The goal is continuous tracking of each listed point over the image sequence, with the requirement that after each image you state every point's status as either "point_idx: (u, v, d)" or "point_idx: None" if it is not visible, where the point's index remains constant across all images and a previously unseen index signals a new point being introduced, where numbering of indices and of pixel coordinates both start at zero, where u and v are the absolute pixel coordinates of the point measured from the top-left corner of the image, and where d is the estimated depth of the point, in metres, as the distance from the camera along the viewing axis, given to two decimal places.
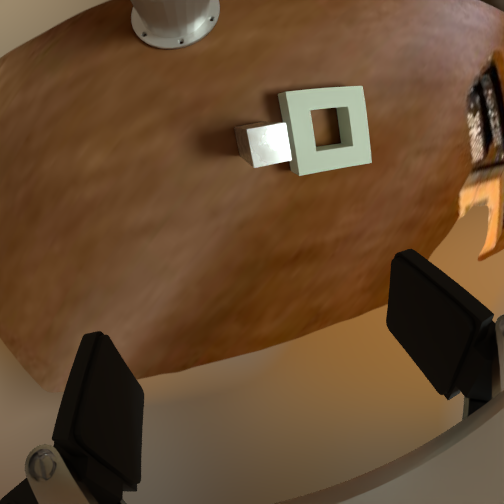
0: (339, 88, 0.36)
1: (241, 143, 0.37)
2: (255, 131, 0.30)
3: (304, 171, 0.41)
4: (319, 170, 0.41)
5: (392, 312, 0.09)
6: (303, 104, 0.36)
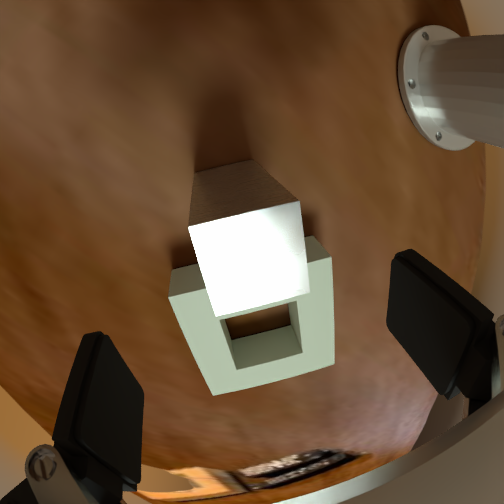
0: (331, 336, 0.25)
1: (230, 178, 0.17)
2: (291, 224, 0.12)
3: (178, 304, 0.21)
4: (184, 328, 0.22)
5: (392, 312, 0.09)
6: None
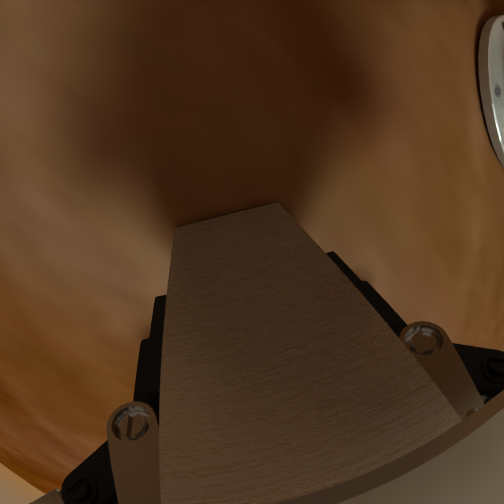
0: None
1: (247, 265, 0.08)
2: None
3: None
4: None
5: None
6: None
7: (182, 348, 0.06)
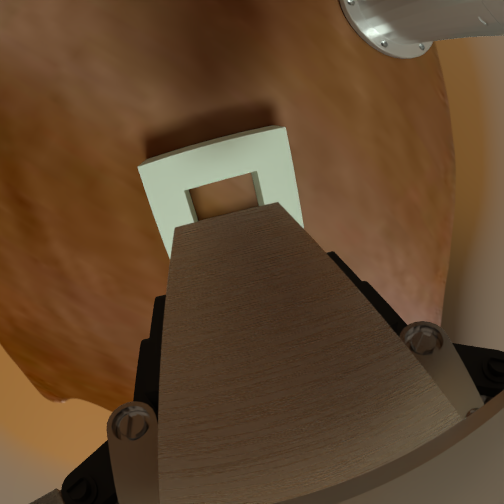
0: (299, 219, 0.26)
1: (246, 265, 0.08)
2: None
3: (146, 174, 0.22)
4: (151, 202, 0.23)
5: None
6: (266, 158, 0.23)
7: (181, 347, 0.06)
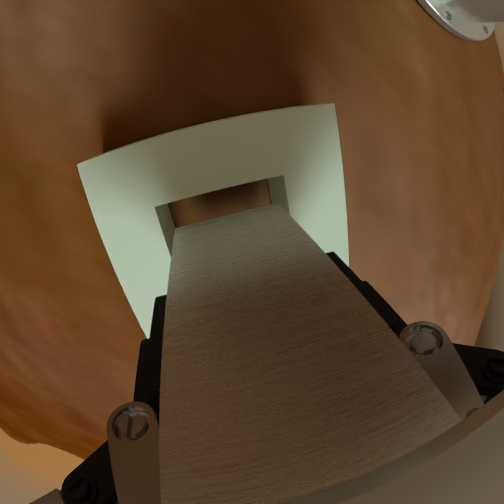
0: (344, 256, 0.16)
1: (247, 266, 0.08)
2: None
3: (90, 178, 0.12)
4: (100, 225, 0.13)
5: None
6: (300, 153, 0.13)
7: (182, 348, 0.06)
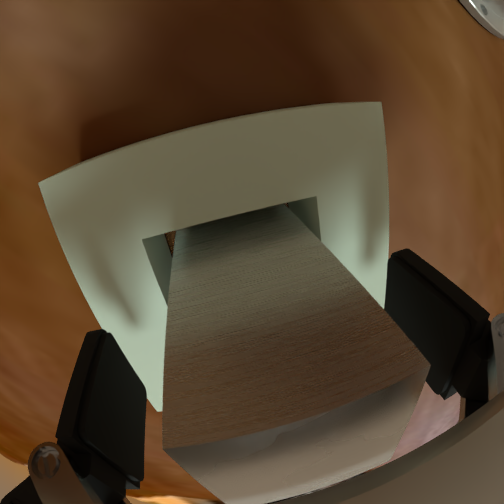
0: (382, 293, 0.12)
1: (241, 240, 0.10)
2: (399, 405, 0.04)
3: (55, 200, 0.08)
4: (73, 262, 0.09)
5: (388, 312, 0.09)
6: (339, 167, 0.10)
7: (185, 303, 0.07)
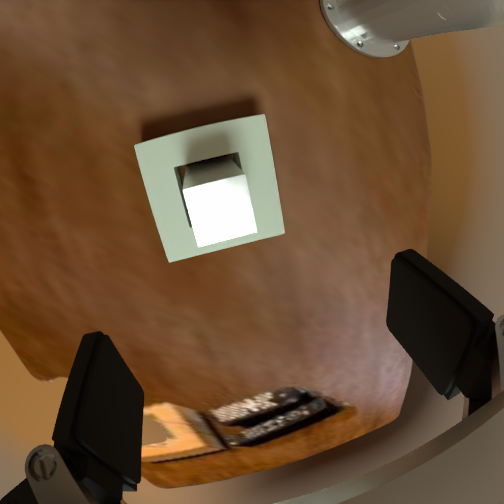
0: (276, 197, 0.29)
1: (209, 167, 0.26)
2: (241, 187, 0.20)
3: (141, 152, 0.24)
4: (144, 176, 0.25)
5: (392, 312, 0.09)
6: (247, 140, 0.26)
7: (189, 177, 0.23)
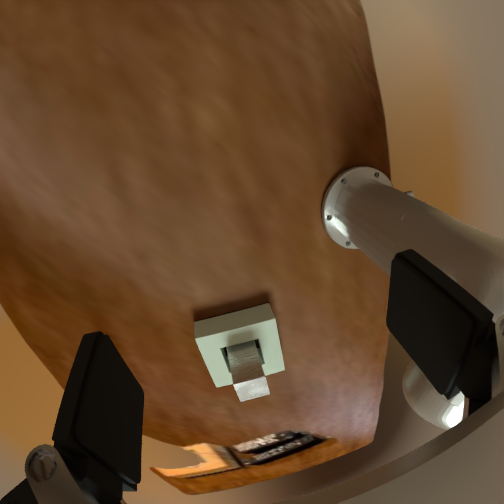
0: (280, 355, 0.46)
1: (242, 348, 0.43)
2: (262, 381, 0.38)
3: (199, 342, 0.42)
4: (202, 352, 0.43)
5: (392, 312, 0.09)
6: (264, 332, 0.43)
7: (232, 364, 0.41)
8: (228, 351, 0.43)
